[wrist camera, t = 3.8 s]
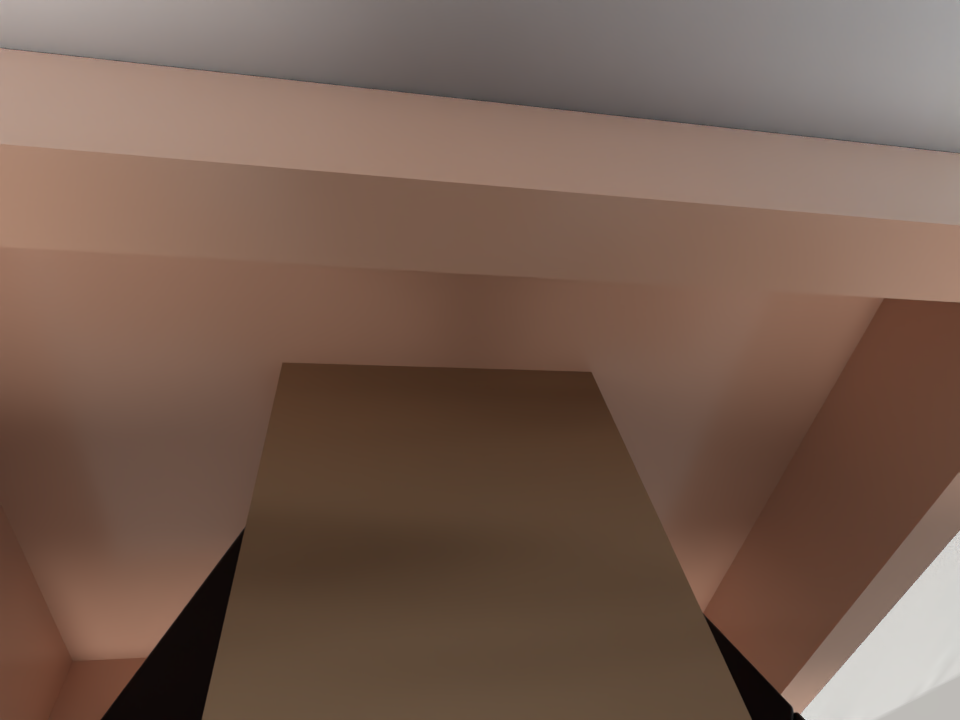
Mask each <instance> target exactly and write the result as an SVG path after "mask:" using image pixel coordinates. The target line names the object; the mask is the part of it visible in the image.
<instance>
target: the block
mask: <svg viewBox="0 0 960 720" xmlns="http://www.w3.org/2000/svg"><path fill="white" fill-rule="evenodd" d="M202 720H752V719H751V717H750V715H749V712H748V710H747V708H746V706H745V704H744V702H743V699H742V697H741V695H740V693H739V691H738V689H737V686H736V684H735V682H734V680H733V678H732V676H731V673H730V671H729V669H728V667H727V665H726V663H725V660H724V658H723V656H722V654H721V652H720V650H719V647H718V645H717V643H716V641H715V639H714V637H713V634H712V632H711V630H710V628H709V626H708V624H707V621H706V619H705V617H704V615H703V613H702V610H701V608H700V606H699V604H698V602H697V600H696V597H695V595H694V593H693V591H692V589H691V587H690V584H689V582H688V580H687V578H686V576H685V574H684V571H683V569H682V567H681V565H680V563H679V561H678V558H677V556H676V554H675V552H674V550H673V548H672V545H671V543H670V541H669V539H668V537H667V535H666V532H665V530H664V528H663V526H662V524H661V522H660V519H659V517H658V515H657V513H656V511H655V509H654V506H653V504H652V502H651V500H650V498H649V496H648V493H647V491H646V489H645V487H644V485H643V483H642V480H641V478H640V476H639V474H638V472H637V470H636V467H635V465H634V463H633V461H632V459H631V457H630V454H629V452H628V450H627V448H626V446H625V444H624V441H623V439H622V437H621V435H620V433H619V431H618V428H617V426H616V424H615V422H614V420H613V418H612V415H611V413H610V411H609V409H608V407H607V405H606V402H605V400H604V398H603V396H602V394H601V392H600V389H599V387H598V385H597V383H596V381H595V379H594V376H593V374H592V372H579V371H546V370H513V369H480V368H447V367H414V366H381V365H348V364H315V363H282V367H281V371H280V376H279V380H278V385H277V389H276V394H275V398H274V402H273V407H272V411H271V416H270V420H269V425H268V429H267V433H266V438H265V442H264V447H263V451H262V456H261V460H260V464H259V469H258V473H257V478H256V482H255V486H254V491H253V495H252V500H251V504H250V509H249V513H248V517H247V522H246V526H245V531H244V535H243V540H242V544H241V548H240V553H239V557H238V562H237V566H236V571H235V575H234V579H233V584H232V588H231V593H230V597H229V601H228V606H227V610H226V615H225V619H224V624H223V628H222V632H221V637H220V641H219V646H218V650H217V655H216V659H215V663H214V668H213V672H212V677H211V681H210V685H209V690H208V694H207V699H206V703H205V708H204V712H203V716H202Z"/></svg>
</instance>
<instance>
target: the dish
mask: <svg viewBox="0 0 960 720" xmlns="http://www.w3.org/2000/svg"><path fill="white" fill-rule="evenodd" d="M282 363H315V364H348V365H381V366H414V367H447V368H480V369H513V370H546V371H579V372H592V374H593V376H594V379H595V381H596V383H597V385H598V387H599V389H600V392H601V394H602V396H603V398H604V400H605V402H606V405H607V407H608V409H609V411H610V413H611V415H612V418H613V420H614V422H615V424H616V426H617V428H618V431H619V433H620V435H621V437H622V439H623V441H624V444H625V446H626V448H627V450H628V452H629V454H630V457H631V459H632V461H633V463H634V465H635V467H636V470H637V472H638V474H639V476H640V478H641V480H642V483H643V485H644V487H645V489H646V491H647V493H648V496H649V498H650V500H651V502H652V504H653V506H654V509H655V511H656V513H657V515H658V517H659V519H660V522H661V524H662V526H663V528H664V530H665V532H666V535H667V537H668V539H669V541H670V543H671V545H672V548H673V550H674V552H675V554H676V556H677V558H678V561H679V563H680V565H681V567H682V569H683V571H684V574H685V576H686V578H687V580H688V582H689V584H690V587H691V589H692V591H693V593H694V595H695V597H696V600H697V602H698V604H699V606H700V608H701V610H702V613H703V614H704V615H705V616H706V617H707V618H708V619H709V620H710V621H711V622H712V623H713V624H714V625H715V626H716V627H717V628H718V629H719V630H720V631H721V632H722V634H723V635H724V636H725V637H726V638H727V639H728V640H729V641H730V642H731V643H732V644H733V645H734V646H735V647H736V648H737V649H738V650H739V651H740V652H741V653H742V654H743V656H744V657H745V658H746V659H747V660H748V661H749V662H750V663H751V664H752V665H753V666H754V667H755V668H756V669H757V670H758V671H759V672H760V673H761V674H762V675H763V676H764V678H765V679H766V680H767V681H768V682H769V683H770V684H771V685H772V686H773V687H774V688H775V689H776V690H777V691H778V692H779V693H780V694H781V695H782V696H783V697H784V698H785V699H786V701H787V702H788V703H789V704H790V705H791V706H792V707H793V710H794V712H798V713H799V714H801V713H802V711H803V710H804V709H805V708H806V707H807V706H808V705H809V703H810V702H811V701H812V700H813V699H814V698H815V696H816V695H817V694H818V693H819V692H820V691H821V690H822V688H823V687H824V686H825V685H826V684H827V683H828V682H829V680H830V679H831V678H832V677H833V676H834V675H835V673H836V672H837V671H838V670H839V669H840V668H841V667H842V665H843V664H844V663H845V662H846V661H847V660H848V658H849V657H850V656H851V655H852V654H853V653H854V652H855V650H856V649H857V648H858V647H859V646H860V645H861V643H862V642H863V641H864V640H865V639H866V638H867V637H868V635H869V634H870V633H871V632H872V631H873V630H874V628H875V627H876V626H877V625H878V624H879V623H880V622H881V620H882V619H883V618H884V617H885V616H886V615H887V613H888V612H889V611H890V610H891V609H892V608H893V607H894V605H895V604H896V603H897V602H898V601H899V600H900V598H901V597H902V596H903V595H904V594H905V593H906V592H907V590H908V589H909V588H910V587H911V586H912V585H913V583H914V582H915V581H916V580H917V579H918V578H919V577H920V575H921V574H922V573H923V572H924V571H925V570H926V569H927V567H928V566H929V565H930V564H931V563H932V562H933V560H934V559H935V558H936V557H937V556H938V555H939V554H940V552H941V551H942V550H943V549H944V548H945V547H946V545H947V544H948V543H949V542H950V541H951V540H952V539H953V537H954V536H955V535H956V534H957V533H958V532H959V530H960V153H951V152H942V151H933V150H924V149H914V148H905V147H896V146H887V145H878V144H869V143H860V142H851V141H842V140H832V139H823V138H814V137H805V136H796V135H787V134H778V133H769V132H760V131H750V130H741V129H732V128H723V127H714V126H705V125H696V124H687V123H678V122H668V121H659V120H650V119H641V118H632V117H623V116H614V115H605V114H596V113H586V112H577V111H568V110H559V109H550V108H541V107H532V106H523V105H514V104H504V103H495V102H486V101H477V100H468V99H459V98H450V97H441V96H432V95H422V94H413V93H404V92H395V91H386V90H377V89H368V88H359V87H350V86H340V85H331V84H322V83H313V82H304V81H295V80H286V79H277V78H268V77H258V76H249V75H240V74H231V73H222V72H213V71H204V70H195V69H186V68H176V67H167V66H158V65H149V64H140V63H131V62H122V61H113V60H104V59H94V58H85V57H76V56H67V55H58V54H49V53H40V52H31V51H22V50H12V49H3V48H0V720H101V718H102V717H103V716H104V714H105V713H106V712H107V710H108V709H109V708H110V706H111V705H112V704H113V702H114V701H115V700H116V698H117V697H118V696H119V694H120V693H121V692H122V690H123V689H124V688H125V686H126V685H127V684H128V682H129V681H130V679H131V678H132V677H133V675H134V674H135V673H136V671H137V670H138V669H139V667H140V666H141V665H142V663H143V662H144V661H145V659H146V658H147V657H148V655H149V654H150V653H151V651H152V650H153V649H154V647H155V646H156V645H157V643H158V642H159V641H160V639H161V638H162V637H163V635H164V634H165V633H166V631H167V630H168V629H169V627H170V626H171V625H172V623H173V622H174V621H175V619H176V618H177V617H178V615H179V614H180V613H181V611H182V610H183V609H184V607H185V606H186V605H187V603H188V602H189V601H190V599H191V598H192V597H193V595H194V594H195V593H196V591H197V590H198V589H199V587H200V586H201V585H202V583H203V582H204V581H205V579H206V578H207V577H208V575H209V574H210V573H211V571H212V570H213V569H214V567H215V566H216V565H217V563H218V562H219V561H220V559H221V558H222V557H223V555H224V554H225V553H226V551H227V550H228V549H229V547H230V546H231V545H232V543H233V542H234V541H235V539H236V538H237V537H238V535H239V534H240V533H241V531H242V530H243V529H244V527H245V526H246V522H247V517H248V513H249V509H250V504H251V500H252V495H253V491H254V486H255V482H256V478H257V473H258V469H259V464H260V460H261V456H262V451H263V447H264V442H265V438H266V433H267V429H268V425H269V420H270V416H271V411H272V407H273V402H274V398H275V394H276V389H277V385H278V380H279V376H280V371H281V367H282Z"/></svg>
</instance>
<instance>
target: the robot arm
mask: <svg viewBox="0 0 960 720" xmlns="http://www.w3.org/2000/svg"><path fill="white" fill-rule="evenodd" d="M244 531H245V527H244V529H243V530H242V531H241V533H240V534H239V535H238V537H237V538H236V539H235V541H234V542H233V543H232V545H231V546H230V547H229V549H228V550H227V551H226V553H225V554H224V555H223V557H222V558H221V559H220V561H219V562H218V563H217V565H216V566H215V567H214V569H213V570H212V571H211V573H210V574H209V575H208V577H207V578H206V579H205V581H204V582H203V583H202V585H201V586H200V587H199V589H198V590H197V591H196V593H195V594H194V595H193V597H192V598H191V599H190V601H189V602H188V603H187V605H186V606H185V607H184V609H183V610H182V611H181V613H180V614H179V615H178V617H177V618H176V619H175V621H174V622H173V623H172V625H171V626H170V627H169V629H168V630H167V631H166V633H165V634H164V635H163V637H162V638H161V639H160V641H159V642H158V643H157V645H156V646H155V647H154V649H153V650H152V651H151V653H150V654H149V655H148V657H147V658H146V659H145V661H144V662H143V663H142V665H141V666H140V667H139V669H138V670H137V671H136V673H135V674H134V675H133V677H132V678H131V679H130V681H129V682H128V684H127V685H126V686H125V688H124V689H123V690H122V692H121V693H120V694H119V696H118V697H117V698H116V700H115V701H114V702H113V704H112V705H111V706H110V708H109V709H108V710H107V712H106V713H105V714H104V716H103V717H102V718H101V720H202V716H203V712H204V708H205V703H206V699H207V694H208V690H209V685H210V681H211V677H212V672H213V668H214V663H215V659H216V655H217V650H218V646H219V641H220V637H221V632H222V628H223V624H224V619H225V615H226V610H227V606H228V601H229V597H230V593H231V588H232V584H233V579H234V575H235V571H236V566H237V562H238V557H239V553H240V548H241V544H242V540H243V535H244ZM703 615H704V614H703ZM704 617H705V619H706V621H707V624H708V626H709V628H710V630H711V632H712V634H713V637H714V639H715V641H716V643H717V645H718V647H719V650H720V652H721V654H722V656H723V658H724V660H725V663H726V665H727V667H728V669H729V671H730V673H731V676H732V678H733V680H734V682H735V684H736V686H737V689H738V691H739V693H740V695H741V697H742V699H743V702H744V704H745V706H746V708H747V710H748V712H749V715H750V717H751V719H752V720H805V719H804V718H803V717H802V716H801V715H800V714H799V713H798V712H794V710H793V707H792V706H791V705H790V704H789V703H788V702H787V701H786V699H785V698H784V697H783V696H782V695H781V694H780V693H779V692H778V691H777V690H776V689H775V688H774V687H773V686H772V685H771V684H770V683H769V682H768V681H767V680H766V679H765V678H764V676H763V675H762V674H761V673H760V672H759V671H758V670H757V669H756V668H755V667H754V666H753V665H752V664H751V663H750V662H749V661H748V660H747V659H746V658H745V657H744V656H743V654H742V653H741V652H740V651H739V650H738V649H737V648H736V647H735V646H734V645H733V644H732V643H731V642H730V641H729V640H728V639H727V638H726V637H725V636H724V635H723V634H722V632H721V631H720V630H719V629H718V628H717V627H716V626H715V625H714V624H713V623H712V622H711V621H710V620H709V619H708V618H707V617H706V616H705V615H704Z"/></svg>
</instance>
